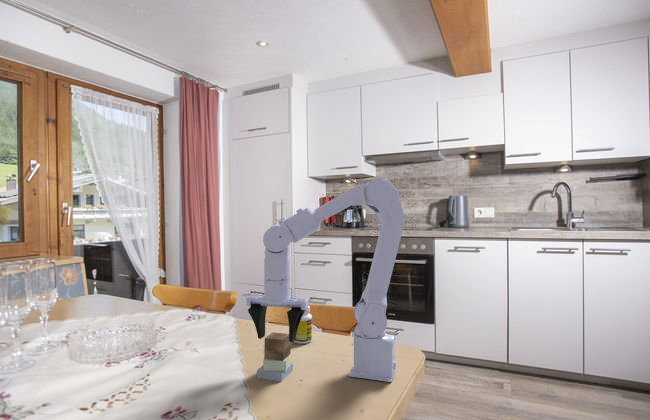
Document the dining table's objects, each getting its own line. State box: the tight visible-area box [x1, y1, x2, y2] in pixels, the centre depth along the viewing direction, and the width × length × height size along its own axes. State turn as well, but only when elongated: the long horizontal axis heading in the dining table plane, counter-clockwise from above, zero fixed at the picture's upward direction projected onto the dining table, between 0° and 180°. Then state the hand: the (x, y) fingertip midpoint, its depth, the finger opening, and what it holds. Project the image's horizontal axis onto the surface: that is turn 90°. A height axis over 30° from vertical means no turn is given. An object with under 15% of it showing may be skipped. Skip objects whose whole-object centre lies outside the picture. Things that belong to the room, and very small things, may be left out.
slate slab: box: [256, 362, 294, 382], centre depth 83 cm, size 6×6×2 cm
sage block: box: [262, 355, 290, 371], centre depth 84 cm, size 5×5×2 cm
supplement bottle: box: [293, 305, 313, 345], centre depth 105 cm, size 5×5×10 cm
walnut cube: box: [263, 331, 292, 361], centre depth 84 cm, size 4×4×4 cm
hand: (276, 339), depth 84 cm, fingers open, 7 cm apart
